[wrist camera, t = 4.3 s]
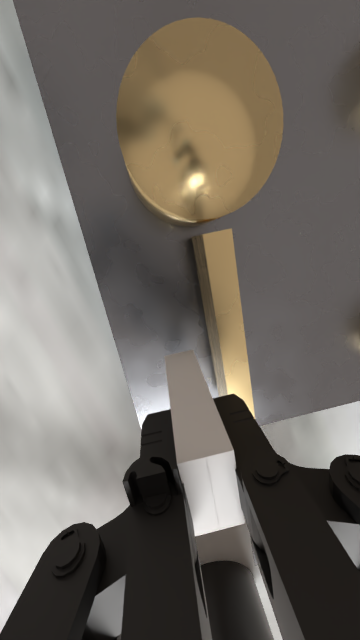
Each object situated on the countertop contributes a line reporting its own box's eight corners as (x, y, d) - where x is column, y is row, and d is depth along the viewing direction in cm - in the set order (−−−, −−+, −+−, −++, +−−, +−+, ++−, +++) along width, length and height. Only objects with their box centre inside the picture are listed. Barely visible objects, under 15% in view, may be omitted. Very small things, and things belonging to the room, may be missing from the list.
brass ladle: (111, 99, 11) (93, 32, 8) (239, 77, 11) (277, 3, 8) (182, 409, 16) (190, 453, 13) (269, 388, 16) (300, 425, 13)
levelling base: (34, 36, 12) (-63, -138, 6) (486, -35, 13) (719, -230, 8) (148, 432, 19) (147, 505, 14) (433, 362, 20) (534, 404, 15)
